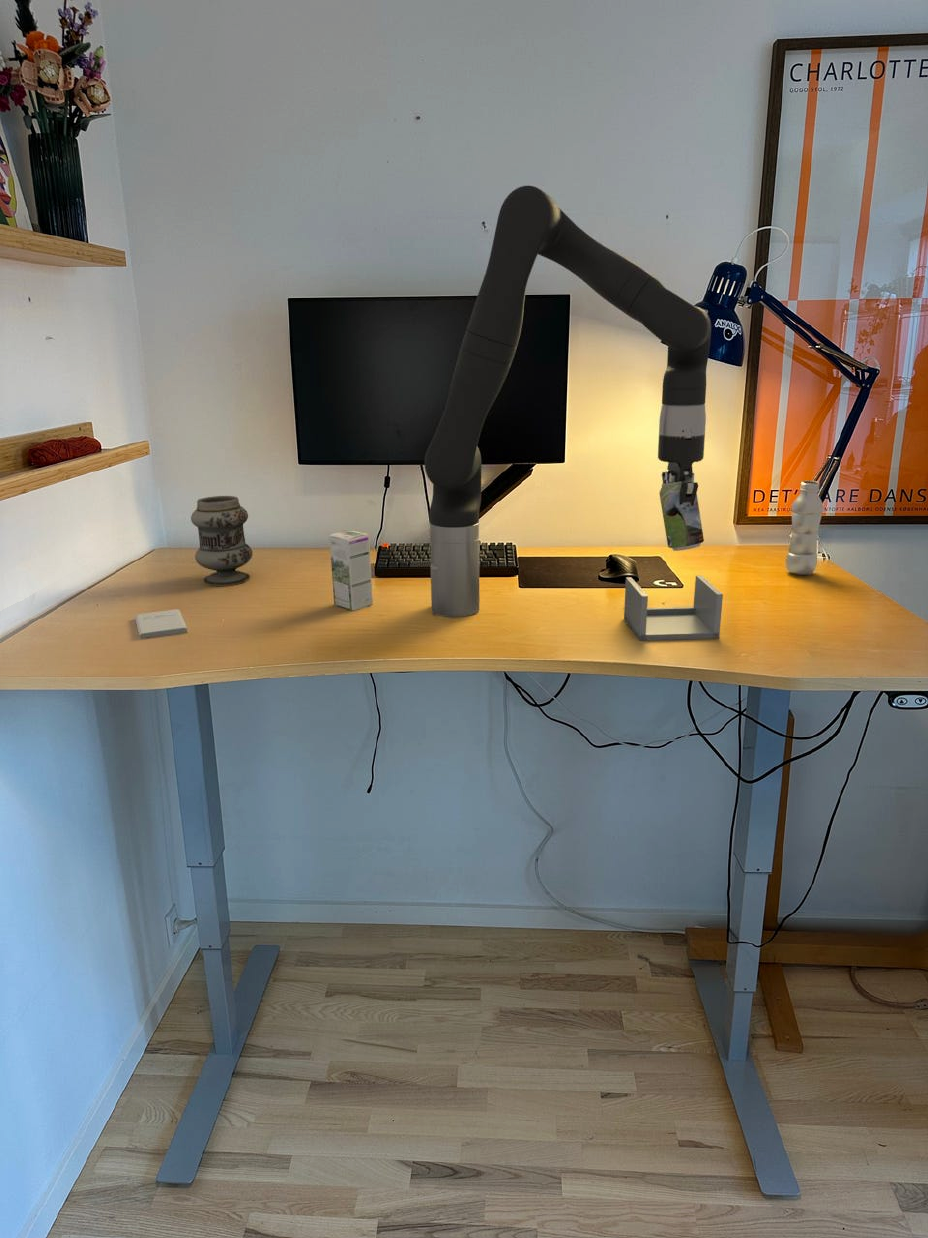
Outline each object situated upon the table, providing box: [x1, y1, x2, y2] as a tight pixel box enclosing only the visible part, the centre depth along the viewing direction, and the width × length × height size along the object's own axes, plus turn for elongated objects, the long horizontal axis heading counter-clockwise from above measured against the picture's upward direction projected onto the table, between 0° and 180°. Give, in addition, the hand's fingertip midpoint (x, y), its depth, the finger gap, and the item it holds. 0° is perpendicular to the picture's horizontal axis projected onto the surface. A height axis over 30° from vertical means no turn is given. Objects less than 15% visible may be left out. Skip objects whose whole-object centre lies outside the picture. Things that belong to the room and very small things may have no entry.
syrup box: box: [328, 529, 374, 611], centre depth 170 cm, size 6×6×14 cm
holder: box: [623, 574, 724, 641], centre depth 156 cm, size 14×12×8 cm
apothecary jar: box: [190, 495, 253, 587], centre depth 188 cm, size 12×12×18 cm
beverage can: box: [659, 481, 705, 552], centre depth 148 cm, size 6×7×12 cm
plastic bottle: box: [785, 480, 824, 576], centre depth 187 cm, size 6×7×20 cm
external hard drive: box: [134, 609, 188, 639], centre depth 162 cm, size 2×8×12 cm
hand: (676, 532), depth 152 cm, fingers closed on beverage can
